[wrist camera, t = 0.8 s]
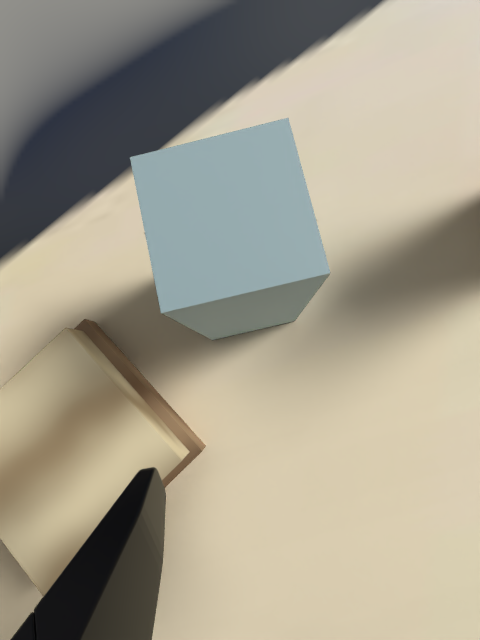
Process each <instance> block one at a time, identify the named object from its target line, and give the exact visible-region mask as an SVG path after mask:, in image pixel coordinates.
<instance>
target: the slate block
mask: <svg viewBox="0 0 480 640" xmlns="http://www.w3.org/2000/svg"><path fill="white" fill-rule="evenodd" d="M130 160H131V165H132V170H133V175H134V180H135V185H136V190H137V195H138V200H139V205H140V210H141V215H142V220H143V225H144V230H145V235H146V240H147V245H148V250H149V255H150V260H151V265H152V270H153V275H154V280H155V285H156V291H157V296H158V301H159V306H160V311H161V313H162V314H164V315H165V316H167V317H169V318H171V319H173V320H175V321H177V322H179V323H181V324H183V325H184V326H186V327H188V328H190V329H192V330H194V331H196V332H198V333H200V334H202V335H203V336H205V337H207V338H209V339H211V340H216V339H220V338H224V337H229V336H233V335H237V334H241V333H246V332H250V331H254V330H259V329H263V328H267V327H271V326H276V325H280V324H284V323H289V322H293V321H295V320H296V319H297V317H298V316H299V315H300V313H301V312H302V311H303V309H304V308H305V307H306V305H307V304H308V303H309V301H310V300H311V298H312V297H313V296H314V294H315V293H316V292H317V290H318V289H319V288H320V286H321V285H322V284H323V282H324V281H325V280H326V278H327V277H328V276H329V274H330V270H329V266H328V262H327V259H326V255H325V251H324V248H323V244H322V240H321V237H320V233H319V229H318V226H317V222H316V218H315V215H314V211H313V207H312V204H311V200H310V196H309V193H308V189H307V185H306V182H305V178H304V174H303V171H302V167H301V163H300V160H299V156H298V152H297V148H296V145H295V141H294V137H293V134H292V130H291V126H290V123H289V119H288V118H286V119H282V120H278V121H274V122H270V123H266V124H262V125H258V126H254V127H250V128H246V129H242V130H238V131H234V132H230V133H226V134H222V135H218V136H214V137H210V138H206V139H202V140H198V141H194V142H190V143H186V144H182V145H178V146H174V147H170V148H166V149H162V150H158V151H154V152H150V153H146V154H142V155H138V156H134V157H130Z"/></svg>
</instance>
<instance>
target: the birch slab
mask: <svg viewBox="0 0 480 640" xmlns="http://www.w3.org/2000/svg"><path fill="white" fill-rule="evenodd" d="M188 453H189V450H188V449H187V448H186V447H185V446H184V445H183V444H182V442H181V441H180V440H179V439H178V438H177V437H176V436H175V435H174V433H173V432H172V431H171V430H170V429H169V428H168V427H167V425H166V424H165V423H164V422H163V421H162V420H161V419H160V418H159V416H158V415H157V414H156V413H155V412H154V411H153V410H152V408H151V407H150V406H149V405H148V404H147V403H146V402H145V401H144V399H143V398H142V397H141V396H140V395H139V394H138V393H137V391H136V390H135V389H134V388H133V387H132V386H131V385H130V384H129V382H128V381H127V380H126V379H125V378H124V377H123V376H122V374H121V373H120V372H119V371H118V370H117V369H116V368H115V367H114V365H113V364H112V363H111V362H110V361H109V360H108V359H107V357H106V356H105V355H104V354H103V353H102V352H101V351H100V350H99V348H98V347H97V346H96V345H95V344H94V343H93V342H92V340H91V339H90V338H89V337H88V336H87V335H86V334H85V332H84V331H80V330H75V329H70V328H65V329H64V330H63V331H62V332H61V333H59V334H58V335H57V336H56V337H55V338H54V339H53V340H52V341H51V342H50V343H49V344H48V345H47V346H46V347H45V348H43V349H42V350H41V351H40V352H39V353H38V354H37V355H36V356H35V357H34V358H33V359H32V360H31V361H30V362H29V363H28V364H26V365H25V366H24V367H23V368H22V369H21V370H20V371H19V372H18V373H17V374H16V375H15V376H14V377H13V378H12V379H10V380H9V381H8V382H7V383H6V384H5V385H4V386H3V387H2V388H1V389H0V539H1V540H2V542H3V543H4V544H5V546H6V547H7V548H8V550H9V551H10V552H11V554H12V555H13V556H14V558H15V559H16V560H17V562H18V563H19V564H20V566H21V567H22V568H23V570H24V571H25V572H26V574H27V575H28V576H29V578H30V579H31V580H32V582H33V583H34V584H35V586H36V587H37V588H38V590H39V591H40V592H41V594H42V595H43V596H44V595H45V594H46V593H47V591H48V590H49V589H50V587H51V586H52V585H53V583H54V582H55V581H56V579H57V578H58V577H59V575H60V574H61V573H62V571H63V570H64V569H65V567H66V566H67V565H68V564H69V562H70V561H71V560H72V558H73V557H74V556H75V554H76V553H77V552H78V550H79V549H80V548H81V546H82V545H83V544H84V542H85V541H86V540H87V538H88V537H89V536H90V534H91V533H92V532H93V530H94V529H95V528H96V527H97V525H98V524H99V523H100V521H101V520H102V519H103V517H104V516H105V515H106V513H107V512H108V511H109V509H110V508H111V507H112V505H113V504H114V503H115V501H116V500H117V499H118V497H119V496H120V495H121V493H122V492H123V491H124V489H125V488H126V487H127V486H128V484H129V483H130V482H131V480H132V479H133V478H134V476H135V475H136V474H137V472H138V471H139V470H141V469H145V468H151V467H155V468H156V469H157V470H158V472H159V475H160V477H161V480H163V479H164V478H165V477H166V476H167V475H168V474H169V473H170V472H171V471H172V470H173V469H174V468H175V467H176V466H177V465H178V464H179V463H180V462H181V461H182V460H183V459H184V458H185V457H186V456H187V454H188Z"/></svg>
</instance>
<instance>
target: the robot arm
mask: <svg viewBox="0 0 480 640" xmlns="http://www.w3.org/2000/svg"><path fill="white" fill-rule="evenodd" d="M165 506H166V492H165V488H164V485H163V482H162V480H161V477H160V475H159V472H158V470H157V469H156V468H155V467H151V468H145V469H141V470H139V471H138V472H137V474H136V475H135V476H134V478H133V479H132V480H131V482H130V483H129V484H128V486H127V487H126V488H125V489H124V491H123V492H122V493H121V495H120V496H119V497H118V499H117V500H116V501H115V503H114V504H113V505H112V507H111V508H110V509H109V511H108V512H107V513H106V515H105V516H104V517H103V519H102V520H101V521H100V523H99V524H98V525H97V527H96V528H95V529H94V530H93V532H92V533H91V534H90V536H89V537H88V538H87V540H86V541H85V542H84V544H83V545H82V546H81V548H80V549H79V550H78V552H77V553H76V554H75V556H74V557H73V558H72V560H71V561H70V562H69V564H68V565H67V566H66V567H65V569H64V570H63V571H62V573H61V574H60V575H59V577H58V578H57V579H56V581H55V582H54V583H53V585H52V586H51V587H50V589H49V590H48V591H47V593H46V594H45V595H44V597H43V598H42V599H41V601H40V602H39V603H38V605H37V606H36V607H35V609H34V612H32V613H31V614H30V615H29V616H28V618H27V619H26V620H25V621H24V623H23V624H22V625H21V627H20V628H19V629H18V631H17V632H16V633H15V635H14V636H13V637H12V638H11V640H152V634H153V627H154V620H155V613H156V607H157V600H158V593H159V586H160V579H161V572H162V564H163V551H164V529H165Z"/></svg>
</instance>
